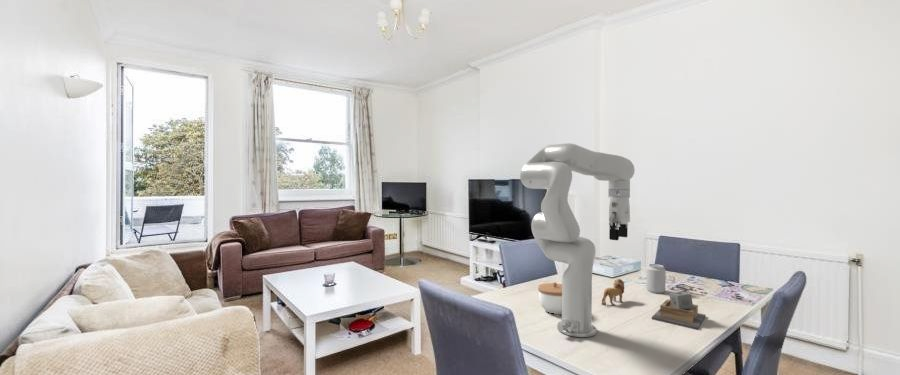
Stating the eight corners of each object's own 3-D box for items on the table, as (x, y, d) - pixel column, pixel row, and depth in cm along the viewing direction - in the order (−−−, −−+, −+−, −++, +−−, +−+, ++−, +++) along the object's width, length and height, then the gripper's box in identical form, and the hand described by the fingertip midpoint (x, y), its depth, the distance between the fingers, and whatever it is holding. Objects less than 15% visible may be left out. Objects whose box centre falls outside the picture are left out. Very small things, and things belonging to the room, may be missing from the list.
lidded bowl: (548, 318, 137) (548, 288, 136) (532, 307, 149) (532, 279, 148) (578, 315, 140) (578, 285, 140) (560, 304, 152) (560, 277, 152)
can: (642, 290, 171) (643, 264, 171) (653, 288, 174) (654, 262, 174) (657, 294, 164) (658, 267, 164) (669, 292, 167) (669, 266, 167)
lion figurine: (614, 297, 160) (614, 276, 160) (627, 300, 157) (627, 279, 156) (598, 305, 150) (598, 283, 150) (611, 308, 147) (612, 286, 146)
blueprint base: (697, 329, 126) (697, 316, 126) (651, 319, 136) (651, 306, 136) (705, 316, 138) (705, 304, 138) (663, 307, 148) (663, 296, 147)
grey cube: (684, 304, 139) (682, 291, 139) (693, 308, 134) (691, 294, 134) (671, 306, 138) (669, 292, 139) (679, 309, 133) (677, 295, 134)
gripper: (621, 194, 134) (621, 242, 134) (636, 193, 147) (636, 236, 147) (600, 194, 139) (600, 239, 139) (616, 193, 152) (616, 235, 152)
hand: (618, 238), depth 143 cm, fingers open, 9 cm apart
